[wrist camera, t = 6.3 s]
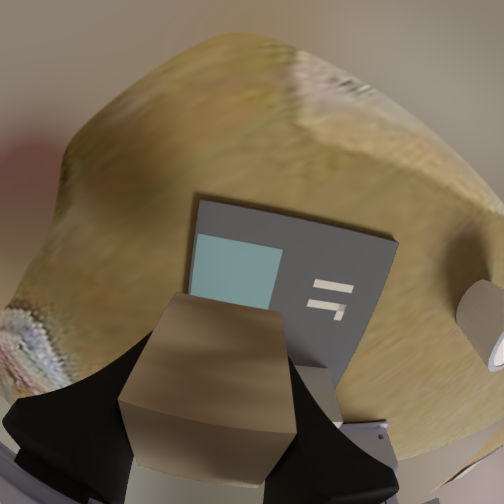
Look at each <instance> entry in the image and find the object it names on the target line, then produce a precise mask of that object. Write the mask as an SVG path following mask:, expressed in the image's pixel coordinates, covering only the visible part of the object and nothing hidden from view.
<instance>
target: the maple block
mask: <svg viewBox="0 0 504 504" xmlns="http://www.w3.org/2000/svg"><path fill="white" fill-rule="evenodd" d="M118 402H119V406H120V410H121V414H122V418H123V422H124V425H125V429H126V432H127V435H128V438H129V442H130V445H131V448H132V451H133V454H134V457H135V459H136V462H137V465H138V466H142V467H145V468H148V469H151V470H155V471H159V472H162V473H166V474H170V475H174V476H179V477H183V478H188V479H193V480H198V481H203V482H209V483H216V484H224V485H231V486H241V487H254V488H258V487H260V485H261V484H262V483H263V481H264V480H265V479H266V477H267V476H268V475H269V473H270V472H271V471H272V469H273V468H274V467H275V465H276V464H277V462H278V461H279V459H280V458H281V457H282V455H283V454H284V452H285V451H286V449H287V448H288V446H289V445H290V443H291V442H292V440H293V439H294V437H295V435H296V434H297V430H296V421H295V412H294V404H293V395H292V387H291V379H290V371H289V363H288V356H287V348H286V341H285V333H284V326H283V319H282V312H279V311H273V310H267V309H261V308H255V307H250V306H244V305H239V304H233V303H228V302H223V301H218V300H213V299H208V298H203V297H198V296H193V295H189V294H184V293H180V292H175V294H174V296H173V297H172V299H171V301H170V303H169V304H168V306H167V308H166V310H165V311H164V313H163V315H162V317H161V318H160V320H159V322H158V324H157V326H156V327H155V329H154V331H153V333H152V335H151V336H150V338H149V340H148V342H147V344H146V346H145V347H144V349H143V351H142V353H141V355H140V357H139V359H138V361H137V362H136V364H135V366H134V368H133V370H132V372H131V374H130V376H129V378H128V380H127V382H126V384H125V386H124V388H123V390H122V391H121V393H120V395H119V397H118Z"/></svg>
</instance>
